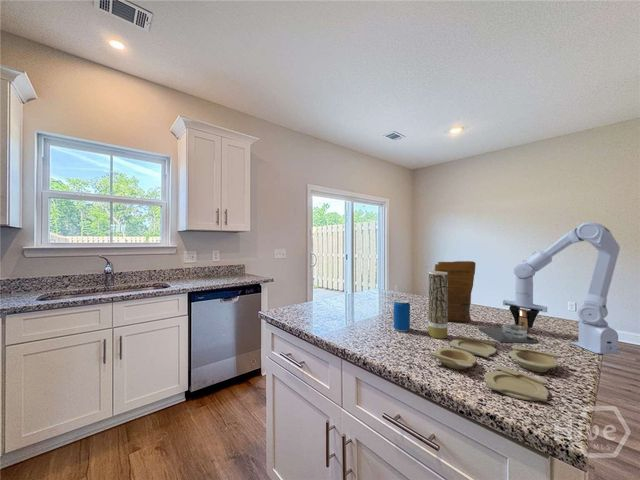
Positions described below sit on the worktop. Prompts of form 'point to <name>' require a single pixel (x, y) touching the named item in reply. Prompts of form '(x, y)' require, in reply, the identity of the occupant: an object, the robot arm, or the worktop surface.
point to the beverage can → (401, 315)
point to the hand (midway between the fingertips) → (523, 325)
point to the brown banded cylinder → (523, 319)
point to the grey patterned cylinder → (438, 304)
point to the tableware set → (506, 378)
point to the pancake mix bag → (458, 288)
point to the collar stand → (508, 334)
